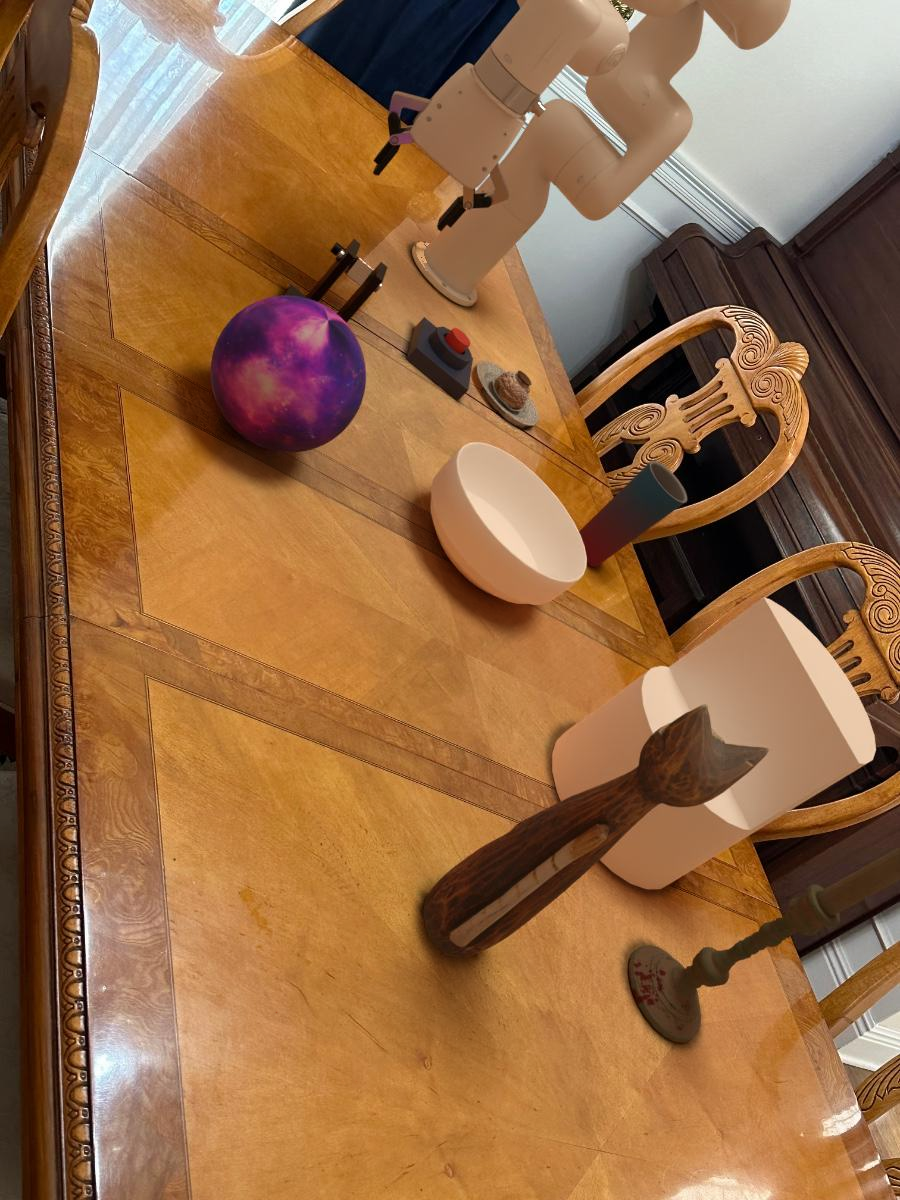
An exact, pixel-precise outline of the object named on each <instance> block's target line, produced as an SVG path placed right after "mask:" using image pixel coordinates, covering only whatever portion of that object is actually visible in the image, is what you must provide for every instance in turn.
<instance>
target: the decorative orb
mask: <svg viewBox="0 0 900 1200" xmlns="http://www.w3.org/2000/svg"><path fill="white" fill-rule="evenodd" d="M213 347H214V348H213V351H212V355H211V360H210V383H211V389H212V393H213V396H214V397H213V398H214V399H215V402H216V405H217V407H218V409H219V410H220V412H221V414H222V416H223V417H224V419H225V421H227V423H228V425H230V426H231V428H232V429H234V430H235V432H237V433H238V434H239V435H240V436H241V437H242V438H244V439H245V440H247V441H249V442H250V443H252V444H254V445H255V446H258V447H260V448H263V449H265V450H269V451H272V452H280V453H288V454H289V453H293V454H294V453H301V452H308V451H312V450H314V449H317V448H320V447H322V446H324V445H326V444H328V443H331V441H333V440H334V439H336V438H337V437H338V436H340V435H341V434H342V433H343V432H344V431H345V430H346V429H347V428H348V427H349V425H351V423H352V421H353V420H354V419H355V417H356V415H357V413H358V411H359V410H360V407H361V405H362V402H363V399H364V397H365V396H364V395H365V391H366V384H367V368H366V362H365V361H366V360H365V355H364V352H363V350H362V346H361V344H360V342H359V340H358V338H357V336H356V335H355V333H354V332H353V330H352V329H351V327H350V326H349V324H348V323H346V322H345V321H344V320H343V319H342V318H341V317H340V316H339V315H337V312H335V311H334V310H332V309H331V308H330V307H328V306H327V305H325V304H323V303H320V302H316V301H314V300H311V299H307V298H303V297H298V296H283V295H274V296H270V297H266V298H262V299H260V300H257V301H255V302H253V303H251V304H249V305H247V306H245V307H244V308H243V309H240V311H239V312H237V313H236V314H235V315H234V316H233V317H232V318H230V320H229V321H228V322H227V323H226V325H225V326H224V328H223V329H222V330H221V332H220V334H219V335H218V337H217V340H216V342H215V345H214V346H213Z"/></svg>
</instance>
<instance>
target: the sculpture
mask: <svg viewBox="0 0 900 1200" xmlns="http://www.w3.org/2000/svg"><path fill="white" fill-rule="evenodd" d="M768 751H769V748H764V747H750V746H739V745H734V744H726V743H725V742H724V740H723V739H722V738H721V737H720V736H719V735H718V734H717V733H716V732H715V731H714V730H713V729H712V728H711V722H710V716H709V712H708V706H707V705H701V706H699V707H697V708H695V709H693V710H691V711H689V712H687V713H685V714H683V715H682V716H680V717H679V718H677V719H676V720H674V721H673V722H672V723H669V724H667V725H665V726H663V727H660V728H659V729H658V730H657V731H655V732H654V733H653V734H652V735H651V736H650V737H649V739H648V740H647V742H646V743H645V744H644V746H643V748H642V750H641V753H640V758H639V766H638V767H636V768H635V769H633V770H632V771H630V772H628V773H626V774H624V775H622V776H619V777H617V778H615V779H613V780H611V781H608V782H606V783H604V784H601V785H598V786H596V787H593V788H591V789H588V790H585V791H583V792H581V793H578V794H575V795H573V796H570V797H568V798H566V799H564V800H563V801H561V800H560V801H558V802H557V803H555V804H552V805H550V806H549V807H547V808H545V809H543V810H541V811H539V812H537V813H534V814H533V815H532V816H529V817H528V818H527V817H526V818H525V819H523V820H520V821H519V822H518V823H516V824H515V825H514V826H513V827H512V828H511V829H510V830H509V831H508V832H506V833H505V834H503V835H501V836H499V837H497V838H495V839H494V840H491V841H490V842H488V843H486V844H484V845H482V846H481V847H480V848H478V849H477V850H475V851H474V852H472V853H470V854H469V855H468V856H466V857H465V858H464V859H463V860H461V861H460V862H458V863H457V864H456V865H455V866H453V867H452V868H451V869H450V870H448V871H447V872H446V873H445V874H444V875H443V876H442V877H440V879H439V880H438V881H437V882H436V883H435V884H434V885H433V887H432V888H431V889H430V891H429V893H428V894H427V896H426V898H425V901H424V905H423V918H424V919H423V920H424V924H425V929H426V932H427V935H428V937H429V939H430V941H431V942H432V943H433V944H434V945H435V947H436V948H437V949H438V950H439V951H440V952H441V953H443V954H445V955H447V956H450V957H453V958H468V957H471V956H474V955H477V954H479V953H481V952H483V951H486V950H488V949H490V948H492V947H494V946H497V945H498V944H499V943H501V942H503V941H504V940H505V939H507V938H509V937H510V936H512V935H513V934H514V933H516V931H518V930H520V929H521V928H522V927H524V925H526V924H527V923H528V922H530V921H531V920H532V919H533V918H534V917H536V916H537V915H538V914H540V912H542V911H543V910H544V909H545V908H546V907H548V906H549V905H550V904H552V902H554V901H555V900H556V899H558V897H560V896H561V895H562V894H564V893H565V892H566V891H567V890H568V889H569V888H570V887H571V886H572V885H574V884H575V883H576V882H577V881H578V880H579V879H580V878H582V877H583V876H584V875H585V874H586V873H587V872H588V871H589V870H590V869H592V868H593V867H594V866H595V864H597V863H598V862H599V861H600V859H601V858H602V857H603V856H604V855H605V854H606V853H607V852H608V851H609V850H610V849H611V848H612V847H613V846H614V845H615V844H616V843H617V842H618V841H619V840H620V839H621V838H622V837H623V836H624V835H625V834H626V833H627V832H628V831H629V830H630V829H631V828H632V827H633V826H634V825H635V824H636V823H637V822H638V821H640V820H641V819H642V818H643V817H644V816H645V815H646V814H647V813H648V812H649V811H651V810H652V809H653V808H655V807H656V806H657V805H659V804H661V803H663V804H666V805H669V806H673V807H691V806H697V805H700V804H703V803H705V802H708V801H710V800H712V799H714V798H715V797H717V796H719V795H720V794H722V793H723V792H725V791H726V790H727V789H728V788H730V787H731V786H732V785H733V784H735V783H736V782H737V781H739V780H740V779H741V778H742V777H744V776H745V775H746V774H747V773H748V772H750V771H751V770H752V769H753V768H754V767H755V766H756V765H757V764H758V763H759V762H760V761H761V760H762V759H763V758H764V757H765V756H766V754H767V753H768Z"/></svg>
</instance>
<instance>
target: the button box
mask: <svg viewBox="0 0 900 1200" xmlns="http://www.w3.org/2000/svg"><path fill="white" fill-rule="evenodd" d="M451 330H452V329H449V328H448V327H446V326H436V325H435V324H433V323H432V321H430V320H429V319H428V318H426V316H425V317H423V318H422V319H420V321H419V322H418V323H417V324H416V325H415V326H414V328H413V330H412V331H413V332H412V334H411V335H412V336H411V339H410V343H409V348H408V351H407V355H406V360H407V361H408V362H410V363H411V364H412V365H413V366H414V367H416V368H417V369H418V370H420V372H422V373H423V374H424V375H426V377H428V378H429V379H430V380H431V381H433V382H434V383H435V384H436V385H438V386H439V387H440V388H441V389H443V390H444V391H445V392H446V393H448V394H449V395H450V396H451V397H452V398H454V399H455V400H456V401H459V400H460V399H461V398H462V397H464V395H465V394H466V393H467V392H468V391H469V388H470V383H471V375H472V369H473V364H474V363H473V361H474V357H473V355H472V352H471V350H470V348H469V347H468V348H467V349H466V350H465V351H464V352H463V353H462V354H459V353H457V352H456V351H455V350H453V349H452V348H451V347H450V346H449V345H448V343H447V342H446V340H445V338H444V337H445V336H446V335H447V334H448V333H449V332H450V331H451Z"/></svg>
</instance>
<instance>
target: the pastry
mask: <svg viewBox="0 0 900 1200" xmlns="http://www.w3.org/2000/svg"><path fill="white" fill-rule="evenodd" d="M476 375H477V377H478V380H479V382H480V384H481V385H482V386H481V393H482V394H483V396H484V398H485V400H487V402H488V403H489V404H490V406H491V407H492V408H493V409H494V410H495V411H497V412H498V413H499V415H500V416H501V418H504V419H505V420H506V422H509V423H511V424H512V425H513V426H515V427H519V428H521V429H522V428H525V427H534V426H536V425H537V424H538V423H539V418H540V417H539V413H538V410H537V407H536V405H535V403H534V401H533V399H532V398H531V397H530V395H529V394H530V392H531V387H530V386H532V385H533V383H532V381H531V379H530V377H529V376H528V375H527V374H526V373H525V372H523V371H522V370H517V371H507V370H505V369H503V368H502V367H501V366H499V365H498V364H496V363H494V362H492V361H488V360H481V361H479V362H478V363H477V365H476Z"/></svg>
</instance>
